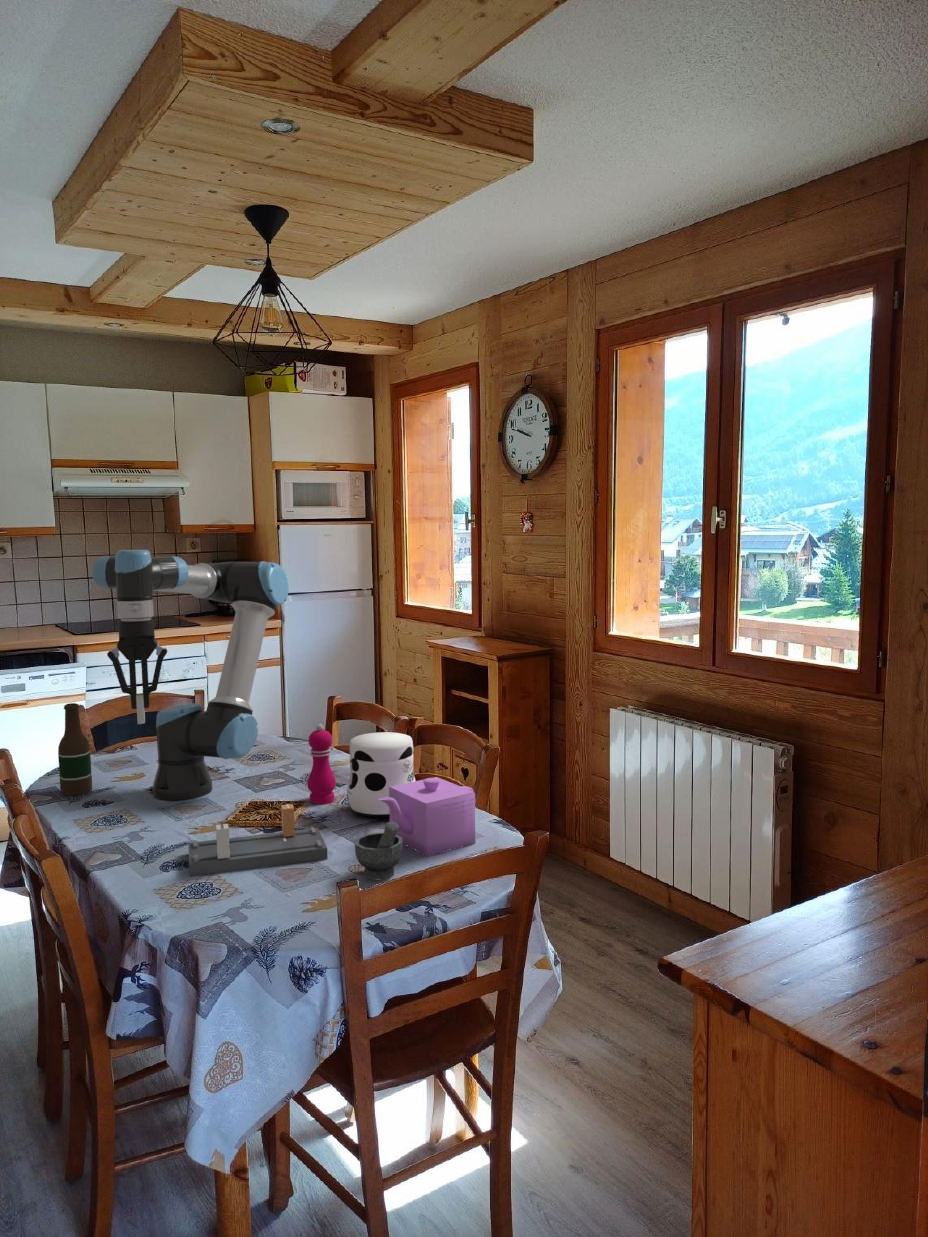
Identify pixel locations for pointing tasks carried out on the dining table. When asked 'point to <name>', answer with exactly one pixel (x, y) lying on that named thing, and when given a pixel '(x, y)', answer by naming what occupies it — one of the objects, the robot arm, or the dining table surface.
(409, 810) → the teapot
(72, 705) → the beer bottle
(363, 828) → the dining table surface
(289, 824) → the orange fader
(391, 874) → the mortar and pestle
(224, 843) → the block
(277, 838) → the console
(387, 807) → the cow-print canister
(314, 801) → the pepper mill
